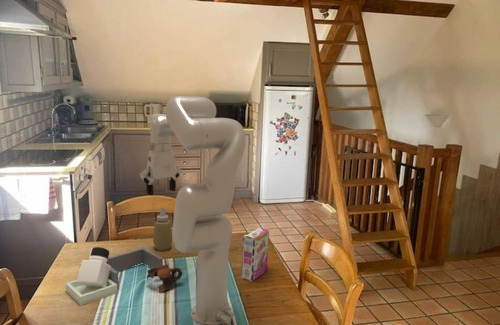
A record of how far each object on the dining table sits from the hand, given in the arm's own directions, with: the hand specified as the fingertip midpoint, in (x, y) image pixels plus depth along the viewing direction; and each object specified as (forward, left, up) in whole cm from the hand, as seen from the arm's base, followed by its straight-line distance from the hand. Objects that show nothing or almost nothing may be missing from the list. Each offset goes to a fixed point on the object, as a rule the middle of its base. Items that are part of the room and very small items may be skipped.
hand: (161, 192), depth 149 cm
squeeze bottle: (+12, -8, -28) cm, 32 cm away
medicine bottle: (-5, +30, -25) cm, 40 cm away
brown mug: (-18, +9, -29) cm, 36 cm away
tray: (-4, +30, -28) cm, 41 cm away
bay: (-2, +14, -28) cm, 32 cm away
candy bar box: (-31, -20, -28) cm, 47 cm away
